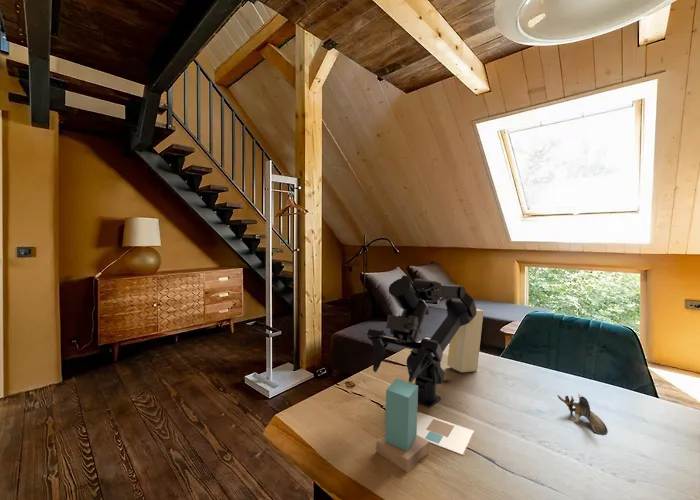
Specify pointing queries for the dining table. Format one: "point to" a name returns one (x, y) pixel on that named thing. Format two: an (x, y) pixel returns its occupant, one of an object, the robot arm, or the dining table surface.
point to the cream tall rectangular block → (466, 345)
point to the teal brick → (401, 414)
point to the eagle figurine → (585, 413)
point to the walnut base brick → (403, 452)
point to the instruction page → (443, 433)
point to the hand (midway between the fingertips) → (391, 376)
